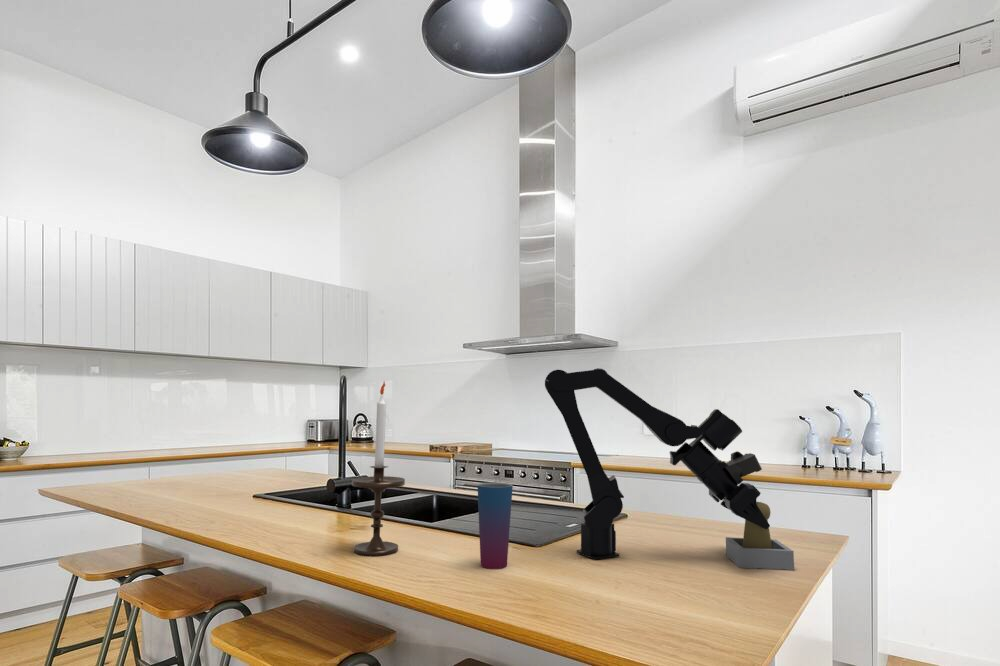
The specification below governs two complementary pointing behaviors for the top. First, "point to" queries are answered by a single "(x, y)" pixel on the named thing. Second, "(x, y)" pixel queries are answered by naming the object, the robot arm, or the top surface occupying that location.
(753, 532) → the olive pawn
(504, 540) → the cup
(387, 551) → the candlestick
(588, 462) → the robot arm
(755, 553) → the open box
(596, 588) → the top surface
